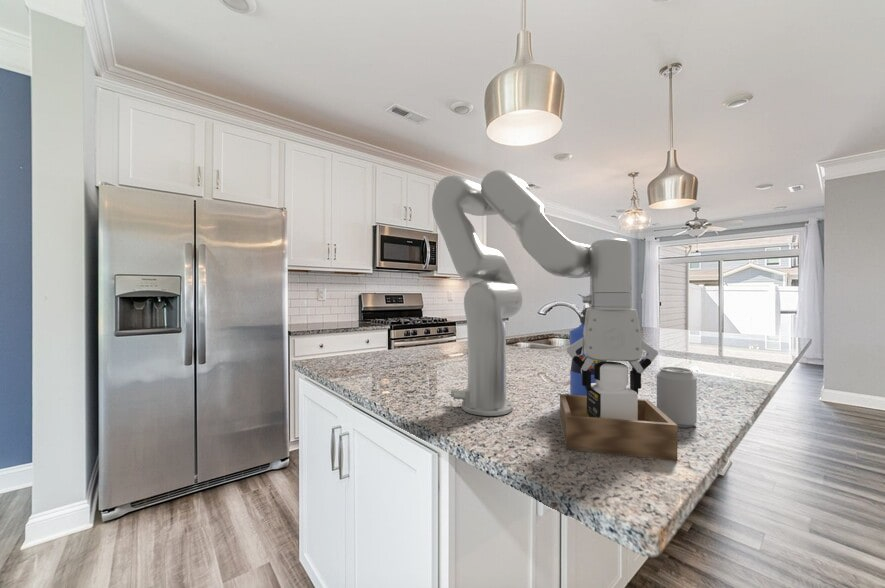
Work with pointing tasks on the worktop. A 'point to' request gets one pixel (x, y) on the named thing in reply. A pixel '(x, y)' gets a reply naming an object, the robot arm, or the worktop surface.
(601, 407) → the medicine bottle
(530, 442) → the worktop surface
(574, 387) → the water bottle
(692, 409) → the can
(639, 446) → the crate
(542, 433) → the worktop surface
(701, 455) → the worktop surface
